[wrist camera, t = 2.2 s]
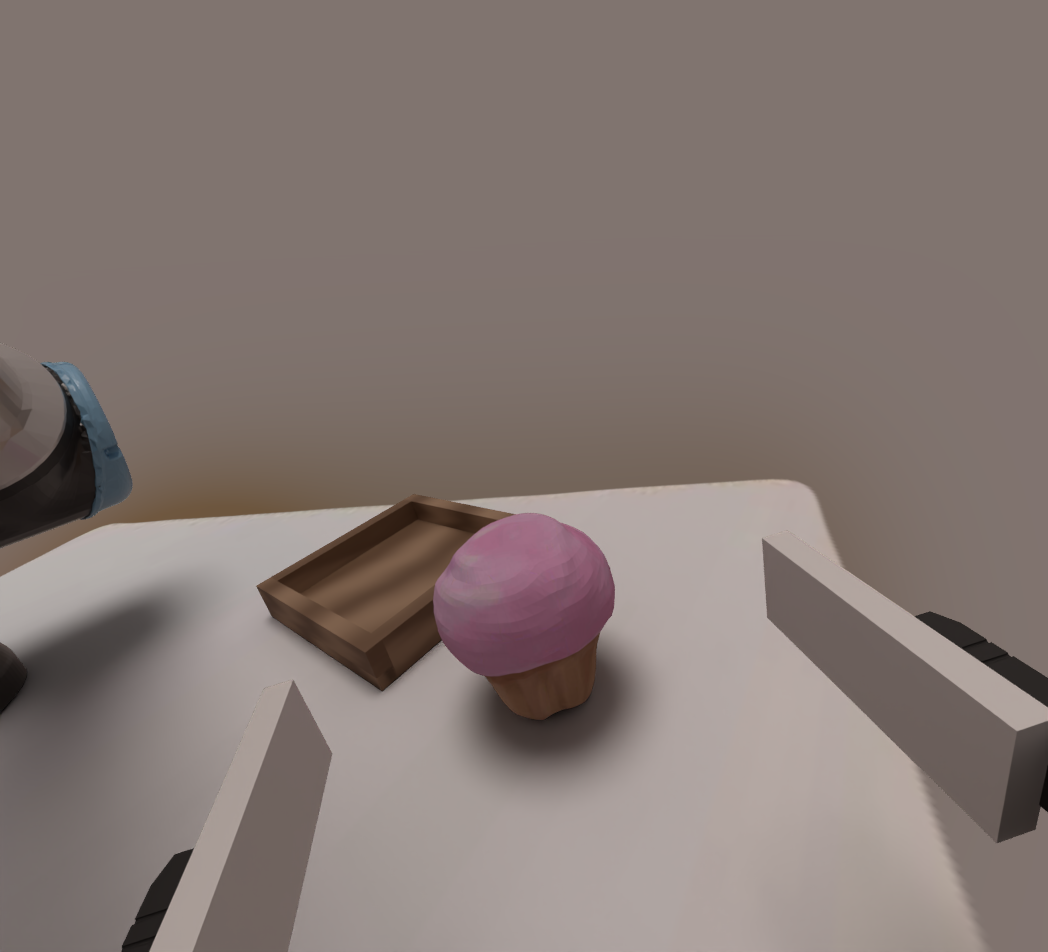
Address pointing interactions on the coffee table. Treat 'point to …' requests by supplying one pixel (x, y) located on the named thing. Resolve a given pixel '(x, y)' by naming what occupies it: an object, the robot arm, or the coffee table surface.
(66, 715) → the coffee table surface
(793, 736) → the coffee table surface
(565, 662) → the cupcake
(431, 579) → the serving tray
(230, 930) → the robot arm
